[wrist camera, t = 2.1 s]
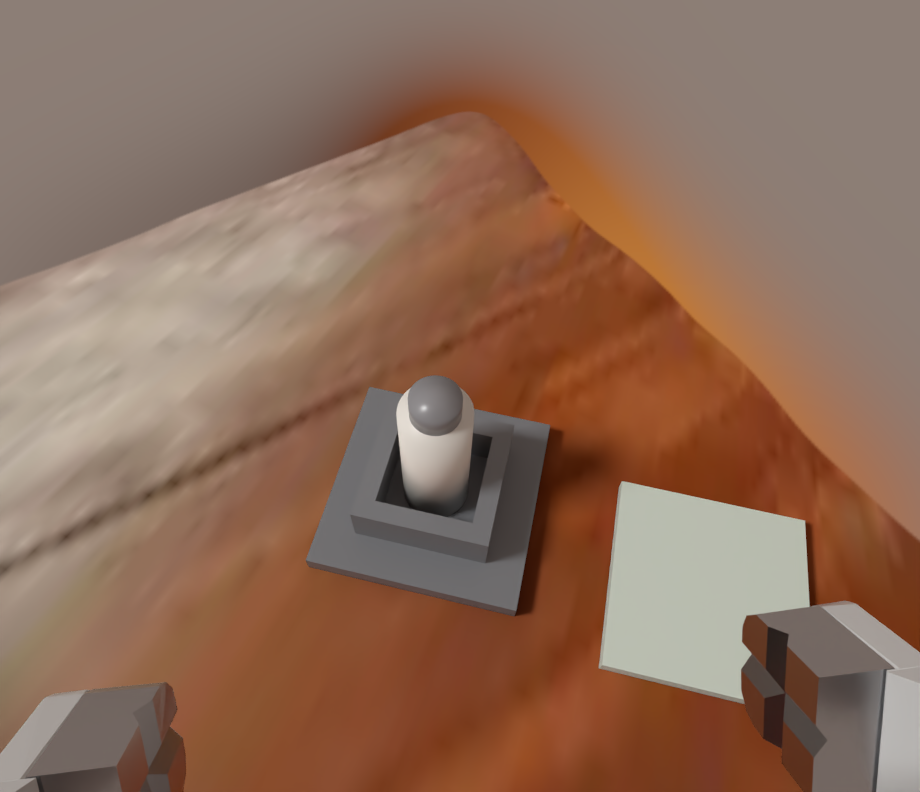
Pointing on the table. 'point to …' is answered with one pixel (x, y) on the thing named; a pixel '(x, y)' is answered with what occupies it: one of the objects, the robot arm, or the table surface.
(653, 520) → the sage mat
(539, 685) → the table surface
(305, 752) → the table surface
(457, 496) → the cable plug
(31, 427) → the table surface
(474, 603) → the socket block
